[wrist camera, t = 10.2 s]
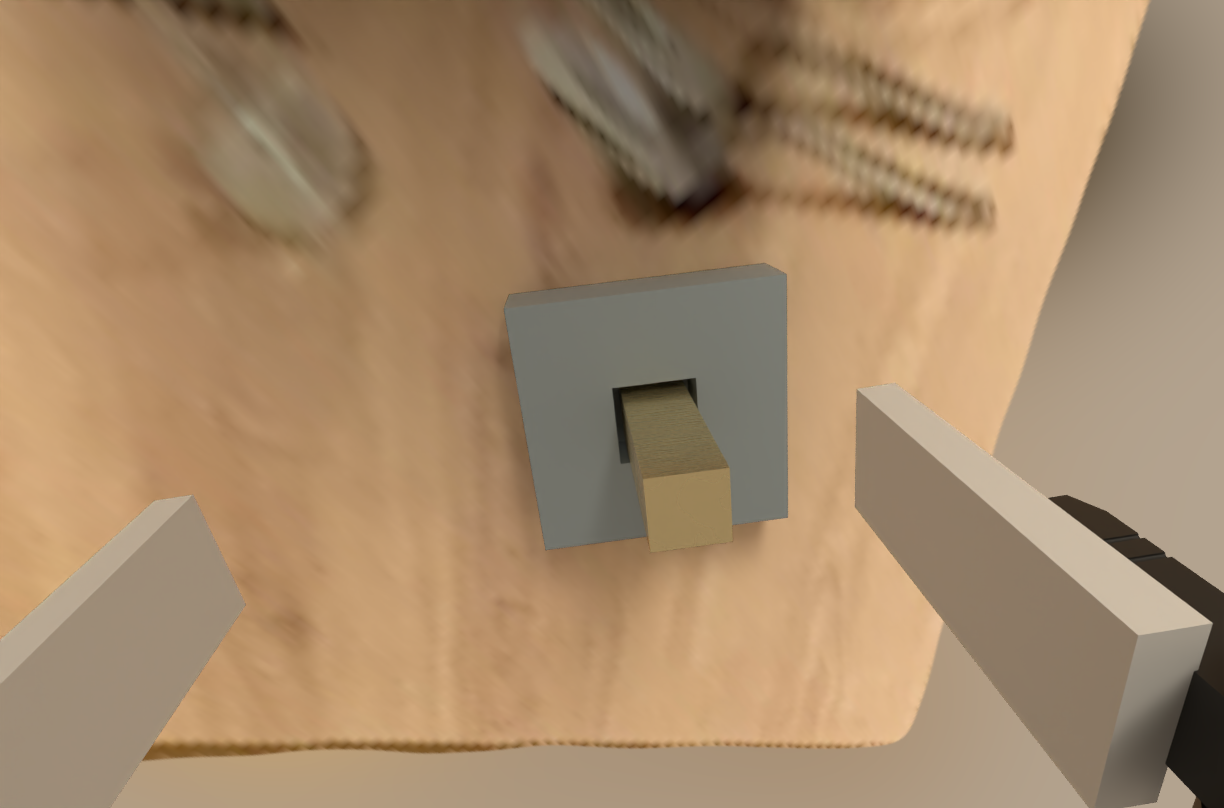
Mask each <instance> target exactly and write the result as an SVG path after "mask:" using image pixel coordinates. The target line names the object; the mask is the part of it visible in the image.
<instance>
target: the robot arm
mask: <svg viewBox="0 0 1224 808" xmlns="http://www.w3.org/2000/svg"><path fill="white" fill-rule="evenodd" d="M855 508H856V509H857V510H858V512H859V513H860V514H861V515H862V517H863V518H864V519H865V521H866V522H867V523H868V524H869V526H870V527H871V528H872V530H873V531H874V532H875V533H876V535H877V536H878V537H879V539H880V540H881V541H882V542H883V544H884V545H885V546H886V548H887V549H888V550H889V551H890V553H891V554H892V555H893V557H894V558H895V559H896V560H897V562H898V563H899V564H900V566H901V567H902V568H903V569H904V571H905V572H906V573H907V575H908V576H909V577H910V578H911V580H912V581H913V582H914V584H915V585H916V586H917V587H918V589H919V590H920V591H921V593H922V594H923V595H924V596H925V598H926V599H927V600H928V602H929V603H930V604H931V605H932V607H933V608H934V609H935V611H936V612H937V613H938V614H939V616H940V617H941V618H942V620H943V621H944V622H945V623H946V625H947V626H948V627H949V628H950V630H951V631H952V632H953V634H954V635H955V636H956V638H957V639H958V640H959V641H960V643H961V644H962V645H963V647H964V648H965V649H966V650H967V652H968V653H969V654H970V655H971V657H972V658H973V659H974V661H975V662H976V663H977V664H978V666H979V667H980V668H981V670H982V671H983V672H984V673H985V675H986V676H987V677H988V679H989V680H990V681H991V682H992V684H993V685H994V686H995V688H996V689H997V690H998V691H999V693H1000V694H1001V695H1002V697H1003V698H1004V699H1005V700H1006V702H1007V703H1008V704H1009V706H1010V707H1011V708H1012V709H1013V711H1014V712H1015V713H1016V715H1017V716H1018V717H1019V718H1020V720H1021V721H1022V722H1023V723H1024V725H1025V726H1026V727H1027V729H1028V730H1029V731H1030V732H1031V734H1032V735H1033V736H1034V738H1035V739H1036V740H1037V741H1038V743H1039V744H1040V745H1041V747H1042V748H1043V749H1044V750H1045V752H1046V753H1047V754H1048V756H1049V757H1050V758H1051V760H1052V761H1053V762H1054V763H1055V765H1056V766H1057V767H1058V768H1059V769H1060V771H1061V772H1062V774H1063V775H1064V776H1065V778H1066V779H1067V780H1068V781H1069V783H1070V784H1071V785H1072V786H1073V788H1074V789H1075V790H1076V792H1077V793H1078V794H1079V795H1080V797H1081V798H1082V799H1083V801H1084V802H1085V803H1086V804H1087V806H1088V807H1089V808H1124V807H1131V806H1136V805H1142V804H1149V803H1154V802H1157V799H1158V796H1159V793H1160V789H1161V786H1162V783H1163V780H1164V777H1165V774H1166V770H1167V767H1169V768H1170V769H1171V770H1172V771H1173V772H1174V773H1175V774H1176V775H1177V777H1178V778H1179V779H1180V780H1181V781H1182V782H1183V783H1184V784H1185V785H1186V786H1187V787H1188V788H1189V789H1190V790H1191V791H1192V792H1193V793H1194V794H1195V795H1196V799H1195V802H1194V805H1193V808H1224V593H1223V592H1221V591H1220V590H1219V589H1217V588H1216V587H1214V586H1213V585H1211V584H1210V583H1208V582H1207V581H1206V580H1204V579H1203V578H1201V577H1200V576H1198V575H1197V574H1196V573H1194V572H1193V571H1191V570H1190V569H1188V568H1187V567H1186V566H1184V565H1183V564H1181V563H1180V562H1178V561H1177V560H1176V559H1174V558H1173V557H1169V558H1167V557H1166V555H1165V552H1164V551H1163V550H1161V549H1160V548H1158V547H1157V546H1155V545H1154V544H1153V543H1151V542H1150V541H1148V540H1147V539H1145V538H1141V539H1140V538H1139V536H1138V533H1137V532H1135V531H1134V530H1133V529H1131V528H1130V527H1128V526H1127V525H1125V524H1124V523H1122V522H1121V521H1120V520H1118V519H1117V518H1115V517H1114V516H1112V515H1111V514H1110V513H1108V512H1107V511H1104V510H1102V509H1100V508H1097V507H1095V506H1092V505H1090V504H1087V503H1085V502H1082V501H1080V500H1078V499H1075V498H1073V497H1070V496H1068V495H1064V496H1057V497H1051V498H1047V497H1045V496H1044V495H1043V494H1041V493H1040V492H1039V491H1037V490H1036V489H1035V488H1033V487H1032V486H1031V485H1029V484H1028V483H1027V482H1025V481H1024V480H1023V479H1021V478H1020V477H1019V476H1017V475H1016V474H1015V473H1013V472H1012V471H1011V470H1009V469H1008V468H1007V467H1006V466H1004V465H1003V464H1002V463H1000V462H999V461H997V460H996V459H995V458H994V457H992V456H991V455H990V454H988V453H987V452H986V451H984V450H983V449H982V448H980V447H979V446H978V445H976V444H975V443H974V442H973V441H971V440H970V439H969V438H967V437H966V436H965V435H963V434H962V433H961V432H959V431H958V430H957V429H955V428H954V427H953V426H951V425H950V424H949V423H947V422H946V421H945V420H943V419H942V418H941V417H939V416H938V415H937V414H935V413H934V412H933V411H932V410H930V409H929V408H928V407H926V406H925V405H924V404H922V403H921V402H920V401H918V400H917V399H916V398H914V397H913V396H912V395H910V394H909V393H908V392H906V391H905V390H904V389H902V388H901V387H900V386H898V385H897V384H896V383H891V384H885V385H879V386H872V387H866V388H860V389H857V401H856V461H855ZM245 605H246V604H245V602H244V600H243V598H242V596H241V593H240V591H239V589H238V587H237V585H236V583H235V581H234V579H233V577H232V575H231V573H230V570H229V568H228V566H227V564H226V562H225V560H224V558H223V556H222V554H221V552H220V550H219V547H218V545H217V543H216V541H215V539H214V537H213V535H212V533H211V531H210V529H209V527H208V524H207V522H206V520H205V518H204V516H203V514H202V512H201V510H200V508H199V506H198V504H197V501H196V499H195V497H194V495H188V496H181V497H175V498H169V499H162V500H156V501H153V502H152V503H151V504H150V505H149V506H148V507H147V508H146V509H144V510H143V511H142V512H141V513H140V514H139V515H138V516H137V517H136V518H135V519H133V520H132V521H131V522H130V523H129V524H128V525H127V526H126V527H125V528H123V529H122V530H121V531H120V532H119V533H118V534H117V535H116V536H115V537H114V538H112V539H111V540H110V541H109V542H108V543H107V544H106V545H105V546H104V547H102V548H101V549H100V550H99V551H98V552H97V553H96V554H95V555H94V556H92V557H91V558H90V559H89V560H88V561H87V562H86V563H85V564H84V565H83V566H81V567H80V568H79V569H78V570H77V571H76V572H75V573H74V574H73V575H71V576H70V577H69V578H68V579H67V580H66V581H65V582H64V583H63V584H62V585H60V586H59V587H58V588H57V589H56V590H55V591H54V592H53V593H52V594H50V595H49V596H48V597H47V598H46V599H45V600H44V601H43V602H42V603H41V604H39V605H38V606H37V607H36V608H35V609H34V610H33V611H32V612H31V613H29V614H28V615H27V616H26V617H25V618H24V619H23V620H22V621H21V622H19V623H18V624H17V625H16V626H15V627H14V628H13V629H12V630H11V631H10V632H8V633H7V634H6V635H5V636H4V637H3V638H2V639H1V640H0V808H110V807H111V806H112V804H113V803H114V801H115V800H116V798H117V797H118V795H119V794H120V792H121V791H122V789H123V788H124V786H125V785H126V783H127V782H128V780H129V779H130V777H131V776H132V774H133V773H134V771H135V770H136V768H137V767H138V765H139V764H140V762H141V761H142V759H143V758H144V756H145V755H146V753H147V752H148V750H149V749H150V747H151V746H152V744H153V743H154V741H155V740H156V738H157V737H158V735H159V734H160V732H161V731H162V729H163V728H164V727H165V725H166V724H167V722H168V721H169V719H170V718H171V716H172V715H173V713H174V712H175V710H176V709H177V707H178V706H179V704H180V703H181V701H182V700H183V698H184V697H185V695H186V694H187V692H188V691H189V689H190V688H191V686H192V685H193V683H194V682H195V680H196V679H197V677H198V676H199V674H200V673H201V671H202V670H203V668H204V667H205V665H206V664H207V662H208V661H209V659H210V658H211V656H212V655H213V653H214V652H215V650H216V649H217V647H218V646H219V644H220V643H221V641H222V640H223V638H224V637H225V635H226V634H227V632H228V631H229V629H230V628H231V626H232V625H233V623H234V622H235V620H236V619H237V617H238V616H239V614H240V613H241V611H242V610H243V608H244V607H245Z"/></svg>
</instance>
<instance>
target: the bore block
mask: <svg viewBox="0 0 1224 808" xmlns="http://www.w3.org/2000/svg"><path fill="white" fill-rule="evenodd" d="M504 314H505V319H506V325H507V331H508V337H509V342H510V348H511V354H512V360H513V365H514V371H515V377H516V383H517V388H518V394H519V400H520V406H521V412H522V417H523V423H524V429H525V435H526V440H527V446H528V452H529V458H530V463H531V469H532V475H533V481H534V486H535V492H536V498H537V504H538V509H539V515H540V521H541V527H542V533H543V538H544V544H545V550H550V549H558V548H565V547H573V546H580V545H588V544H595V543H603V542H610V541H618V540H625V539H632V538H640V537H647V536H646V531H645V527H644V522H643V518H642V513H641V509H640V504H639V500H638V496H637V491H636V487H635V482H634V478H633V473H632V469H631V464H630V460H629V456H628V451H627V447H626V442H625V438H624V433H623V424H622V415H621V406H620V397H619V387H627V386H635V385H643V384H651V383H658V382H666V381H674V380H682V381H683V383H684V385H685V386H686V388H687V390H688V392H689V394H690V396H691V397H692V399H693V401H694V403H695V405H696V407H697V408H698V410H699V412H700V414H701V416H702V418H703V419H704V421H705V423H706V425H707V427H708V429H709V431H710V432H711V434H712V436H713V438H714V440H715V442H716V443H717V445H718V447H719V449H720V451H721V453H722V454H723V456H724V458H725V460H726V462H727V464H728V466H729V467H730V486H731V509H732V525H737V524H744V523H752V522H759V521H767V520H774V519H781V518H788V445H787V274H785V273H783V272H781V271H779V270H778V269H776V268H774V267H772V266H770V265H768V264H766V263H763V264H755V265H746V266H738V267H730V268H722V269H714V270H705V271H697V272H689V273H681V274H673V275H664V276H656V277H648V278H640V279H632V280H623V281H615V282H607V283H599V284H591V285H582V286H574V287H566V288H558V289H550V290H541V291H533V292H525V293H517V294H509V296H508V299H507V301H506V304H505V307H504Z"/></svg>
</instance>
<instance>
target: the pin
mask: <svg viewBox="0 0 1224 808" xmlns="http://www.w3.org/2000/svg"><path fill="white" fill-rule="evenodd" d="M619 397H620V406H621V415H622V424H623V433H624V438H625V442H626V447H627V451H628V456H629V460H630V464H631V469H632V473H633V478H634V482H635V487H636V491H637V496H638V500H639V504H640V509H641V513H642V518H643V522H644V527H645V531H646V536H647V540H648V544H649V549H650V553H653V552H661V551H668V550H675V549H683V548H690V547H698V546H705V545H712V544H720V543H727V542H733V532H732V509H731V486H730V467H729V466H728V464H727V462H726V460H725V458H724V456H723V454H722V453H721V451H720V449H719V447H718V445H717V443H716V442H715V440H714V438H713V436H712V434H711V432H710V431H709V429H708V427H707V425H706V423H705V421H704V419H703V418H702V416H701V414H700V412H699V410H698V408H697V407H696V405H695V403H694V401H693V399H692V397H691V396H690V394H689V392H688V390H687V388H686V386H685V385H684V383H683V381H682V380H674V381H666V382H658V383H651V384H643V385H635V386H627V387H619Z"/></svg>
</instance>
